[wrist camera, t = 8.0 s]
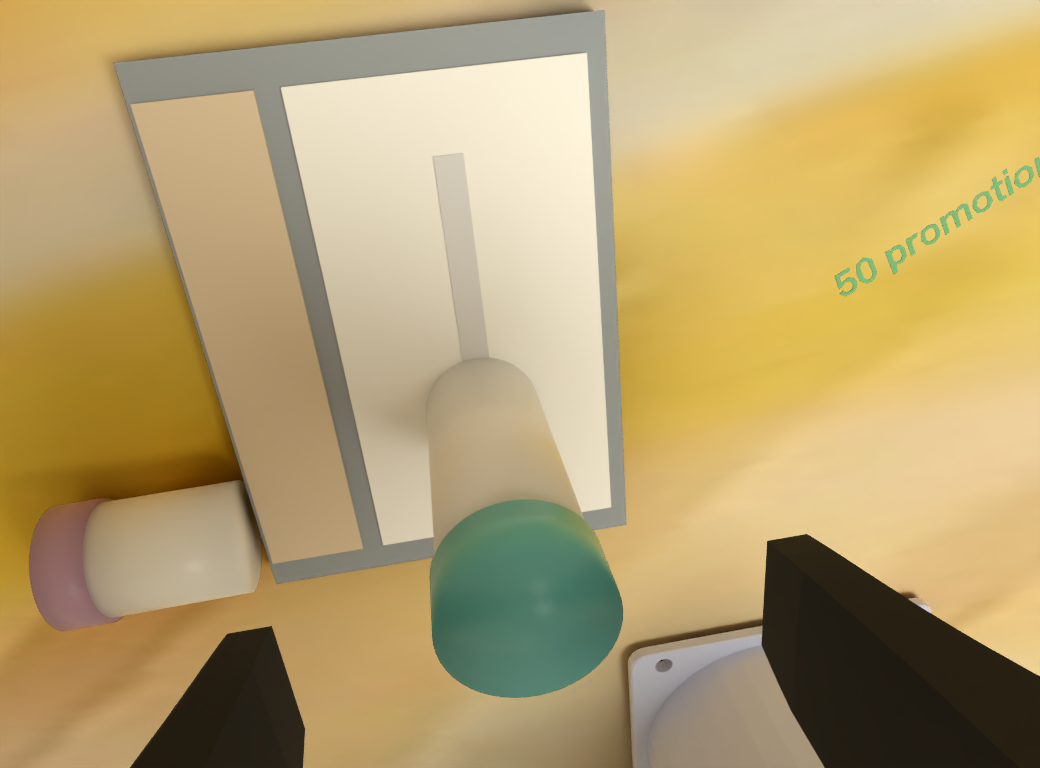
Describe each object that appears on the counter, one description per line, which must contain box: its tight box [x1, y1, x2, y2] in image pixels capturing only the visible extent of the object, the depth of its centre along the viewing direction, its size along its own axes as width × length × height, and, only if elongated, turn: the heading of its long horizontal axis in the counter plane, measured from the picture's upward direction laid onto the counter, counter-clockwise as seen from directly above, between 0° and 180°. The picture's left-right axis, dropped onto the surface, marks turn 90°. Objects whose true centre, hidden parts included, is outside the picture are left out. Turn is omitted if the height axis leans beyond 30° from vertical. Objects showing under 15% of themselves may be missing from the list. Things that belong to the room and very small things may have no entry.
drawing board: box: [114, 10, 626, 584], centre depth 16 cm, size 9×12×1 cm
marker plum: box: [29, 480, 262, 631], centre depth 17 cm, size 3×3×4 cm
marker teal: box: [426, 358, 623, 698], centre depth 14 cm, size 3×3×7 cm
